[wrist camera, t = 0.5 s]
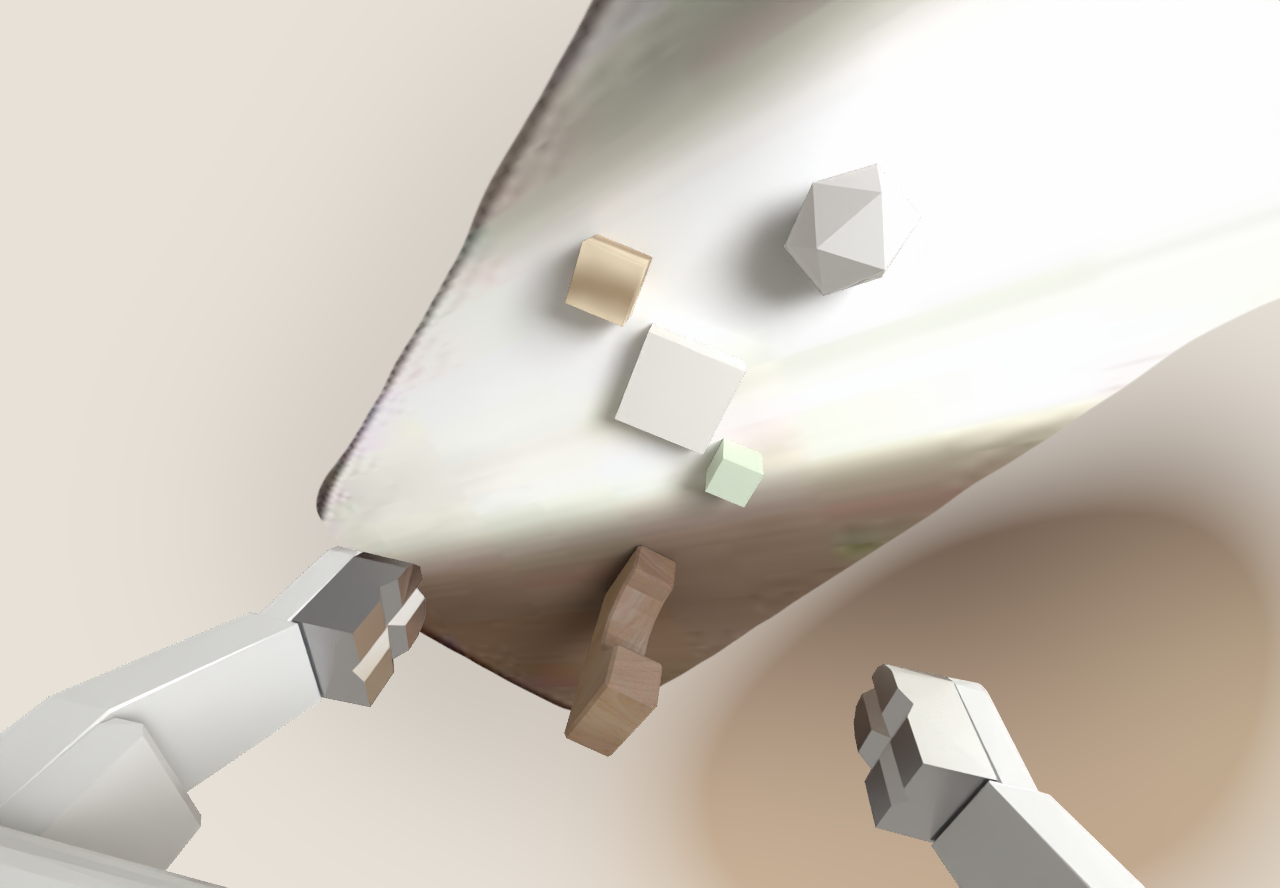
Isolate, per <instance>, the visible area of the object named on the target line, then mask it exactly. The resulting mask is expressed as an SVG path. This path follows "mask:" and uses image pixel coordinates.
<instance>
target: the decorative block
mask: <svg viewBox="0 0 1280 888" xmlns="http://www.w3.org/2000/svg"><path fill="white" fill-rule="evenodd" d="M675 569H676V564H675V562H674V561H672V560H670V559H668V558H666V557H664V556H662V555H660V554H658V553H656V552H654V551H652V550H650V549H648V548H646V547H644V546H638V547H637V548H636V550H635V551H634V553H633V554H632V556H631V557H630V559H629V560H628V562H627V563H626V565H625V566H624V568H623V569H622V571H621V572H620V574H619V575H618V576H617V578H616V579H615V581H614V582H613V584H612V585H611V587H610V588H609V590H608V591H607V593H606V594H605V597H604V600H603V604H602V607H601V610H600V614H599V617H598V620H597V624H596V627H595V631H594V634H593V637H592V641H591V644H590V648H589V651H588V655H587V658H586V661H585V665H584V668H583V671H582V675H581V678H580V682H579V685H578V688H577V692H576V695H575V699H574V702H573V705H572V709H571V712H570V716H569V719H568V723H567V726H566V729H565V735H566V738H568V739H570V740H572V741H574V742H577V743H579V744H581V745H583V746H585V747H588V748H590V749H592V750H594V751H597V752H599V753H601V754H603V755H606V756H610V755H612V754H613V752H614V751H615V750H616V749H617V748H618V747H619V746H620V745H621V744H622V743H623V742H624V741H625V740H626V739H627V738H628V737H629V736H630V735H631V733H632V732H633V731H634V730H635V729H636V728H637V727H638V726H639V725H640V724H641V723H642V722H643V721H644V720H645V718H646V717H647V716H648V715H649V714H650V713H651V712H652V711H653V710H654V709H655V708H656V707H657V702H658V695H659V687H660V680H661V672H662V666H661V664H660V663H658V662H656V661H654V660H652V659H650V658H648V657H646V656H645V651H646V647H647V643H648V639H649V636H650V633H651V630H652V628H653V625H654V623H655V620H656V618H657V616H658V614H659V612H660V610H661V607H662V605H663V603H664V601H665V600H666V598H667V597H668V595H669V594H670V592H671V591H672V589H673V584H674V576H675Z"/></svg>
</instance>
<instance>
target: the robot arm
mask: <svg viewBox="0 0 1280 888" xmlns="http://www.w3.org/2000/svg"><path fill="white" fill-rule="evenodd" d="M422 580H423V579H422V574H421V568H420V566H418V565H415V564H411V563H407V562H403V561H399V560H395V559H391V558H387V557H383V556H378V555H374V554H370V553H366V552H361V551H356V550H352V549H348V548H343V547H339V546H337V547H335V548H332V549H330V550H328V551H327V552H325V553H324V554H323V555H322V556H321V557H320V558H319V559H318V560H317V561H315V562H314V563H313V564H312V565H311V566H310V567H309V568H308V569H307V570H306V571H305V572H304V573H302V575H300V576H299V577H298V578H297V579H296V580H295V581H294V582H293V583H292V584H291V585H290V586H288V587H287V588H286V589H285V590H284V591H283V592H282V593H281V594H280V595H279V596H278V597H277V598H276V599H274V600H273V601H272V602H271V603H270V604H269V605H268V606H267V607H266V608H265V609H264V610H263V611H262V612H260V613H259V614H256V613H248V614H245V615H243V616H241V617H238V618H236V619H233V620H231V621H229V622H226V623H224V624H222V625H220V626H217V627H215V628H212V629H210V630H207V631H205V632H202V633H200V634H198V635H195V636H193V637H190V638H188V639H186V640H183V641H181V642H179V643H176V644H174V645H171V646H169V647H166V648H164V649H162V650H160V651H157V652H155V653H152V654H150V655H147V656H145V657H143V658H140V659H138V660H135V661H133V662H131V663H128V664H126V665H123V666H121V667H119V668H116V669H114V670H112V671H109V672H107V673H104V674H102V675H99V676H97V677H95V678H92V679H90V680H88V681H85V682H83V683H80V684H78V685H76V686H73V687H71V688H69V689H66V690H64V691H61V692H59V693H56V694H54V695H52V696H50V697H48V698H46V699H45V700H44V701H43V702H41V703H40V704H39V705H37V706H36V707H35V708H33V709H32V710H31V711H29V712H28V713H27V714H25V715H24V716H23V717H21V718H20V719H19V720H18V721H16V722H15V723H14V724H12V725H11V726H10V727H9V728H7V729H6V730H5V731H3V732H2V733H1V734H0V888H226V887H223V886H219V885H215V884H212V883H208V882H204V881H201V880H197V879H193V878H190V877H186V876H182V875H179V874H175V873H171V872H167V871H166V869H167V868H168V867H169V866H170V864H171V863H172V862H173V861H174V859H175V858H176V857H177V856H178V854H179V853H180V852H181V851H182V849H183V848H184V847H185V845H186V844H187V843H188V841H189V840H190V839H191V838H192V837H193V835H194V834H195V833H196V831H197V830H198V829H199V828H200V826H201V814H200V813H199V811H198V810H197V808H196V807H195V805H194V803H193V802H192V800H191V799H190V797H189V795H188V794H187V792H188V791H189V790H190V789H192V788H193V787H195V786H196V785H198V784H199V783H201V782H202V781H204V780H205V779H207V778H208V777H210V776H211V775H213V774H214V773H215V772H217V771H218V770H220V769H221V768H223V767H224V766H226V765H227V764H229V763H230V762H231V761H233V760H235V759H236V758H237V757H239V756H240V755H242V754H243V753H245V752H246V751H248V750H249V749H251V748H252V747H254V746H255V745H257V744H258V743H260V742H261V741H262V740H264V739H265V738H267V737H268V736H270V735H271V734H273V733H274V732H276V731H277V730H279V729H280V728H282V727H283V726H285V725H286V724H287V723H289V722H290V721H292V720H293V719H295V718H296V717H298V716H299V715H301V714H302V713H303V712H305V711H307V710H308V709H310V708H311V707H312V706H314V705H315V704H317V703H318V702H320V701H321V697H324V698H329V699H333V700H338V701H343V702H348V703H353V704H358V705H363V706H368V707H371V705H372V704H373V702H374V701H375V699H376V698H377V696H378V695H379V693H380V692H381V690H382V689H383V688H384V686H385V685H386V683H387V682H388V680H389V679H390V677H391V676H392V674H393V673H394V664H393V659H394V658H396V657H398V656H399V655H401V654H403V653H405V652H406V651H408V650H409V649H410V648H411V646H412V644H413V643H414V641H415V640H416V638H417V637H418V635H419V632H420V629H421V627H422V624H423V622H424V618H425V611H426V604H425V597H424V596H423V595H422V594H421V593H420V592H419V590H418V589H417V587H418V586H419V584H420V583H421V582H422ZM872 679H873V684H874V687H875V688H874V689H871V690H869V691H867V692H865V693H863V694H862V695H861V697H860V700H859V702H858V704H857V706H856V712H855V718H854V730H855V739H856V744H857V749H858V753H859V754H860V755H861V757H862V758H863V759H864V760H865V762H866V763H867V764H868V765H869V767H870V768H871V770H870V772H869V774H868V776H867V778H866V780H865V784H866V789H867V793H868V797H869V802H870V806H871V810H872V814H873V819H874V823H875V827H876V828H879V829H883V830H887V831H890V832H894V833H898V834H902V835H906V836H909V837H913V838H917V839H920V840H924V841H928V842H932V843H933V844H932V845H931V846H932V847H933V849H934V850H935V852H936V853H937V855H938V856H939V858H940V859H941V861H942V862H943V864H944V865H945V866H946V868H947V870H948V871H949V873H950V874H951V876H952V877H953V879H954V880H955V881H956V883H957V884H958V886H959V888H1145V887H1144V886H1143V885H1142V884H1141V883H1140V882H1139V881H1138V880H1137V879H1136V878H1135V877H1134V876H1133V875H1131V874H1130V872H1128V870H1126V869H1125V868H1124V867H1123V866H1122V865H1121V864H1120V863H1119V862H1118V861H1117V860H1116V859H1115V858H1114V857H1113V856H1112V855H1111V854H1110V853H1109V852H1108V851H1107V850H1106V849H1105V848H1104V847H1103V846H1102V845H1101V844H1100V843H1099V842H1098V841H1096V839H1095V838H1094V837H1092V836H1091V835H1090V834H1089V833H1088V832H1087V831H1086V830H1085V829H1084V828H1083V827H1082V826H1081V825H1080V824H1079V823H1078V822H1077V821H1076V820H1075V819H1074V818H1073V817H1072V816H1071V815H1070V814H1069V813H1068V812H1067V811H1066V810H1065V809H1064V808H1063V807H1062V806H1061V805H1060V804H1059V803H1057V801H1055V800H1054V799H1053V798H1052V797H1051V796H1050V795H1049V794H1046V793H1042V792H1039V791H1038V790H1037V788H1036V786H1035V784H1034V782H1033V780H1032V778H1031V776H1030V774H1029V772H1028V771H1027V768H1026V766H1025V764H1024V763H1023V760H1022V758H1021V757H1020V755H1019V753H1018V751H1017V749H1016V747H1015V745H1014V743H1013V741H1012V739H1011V737H1010V735H1009V733H1008V731H1007V729H1006V727H1005V725H1004V723H1003V722H1002V719H1001V718H1000V715H999V714H998V712H997V710H996V708H995V706H994V704H993V702H992V700H991V698H990V696H989V694H988V692H987V691H986V690H985V689H984V688H983V687H982V686H981V685H980V684H979V683H974V682H969V681H964V680H959V679H955V678H950V677H944V676H942V675H937V674H932V673H927V672H922V671H918V670H912V669H907V668H903V667H898V666H892V665H888V664H883V665H881V666H879V667H877V669H876V671H875V672H874V674H873V676H872Z"/></svg>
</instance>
